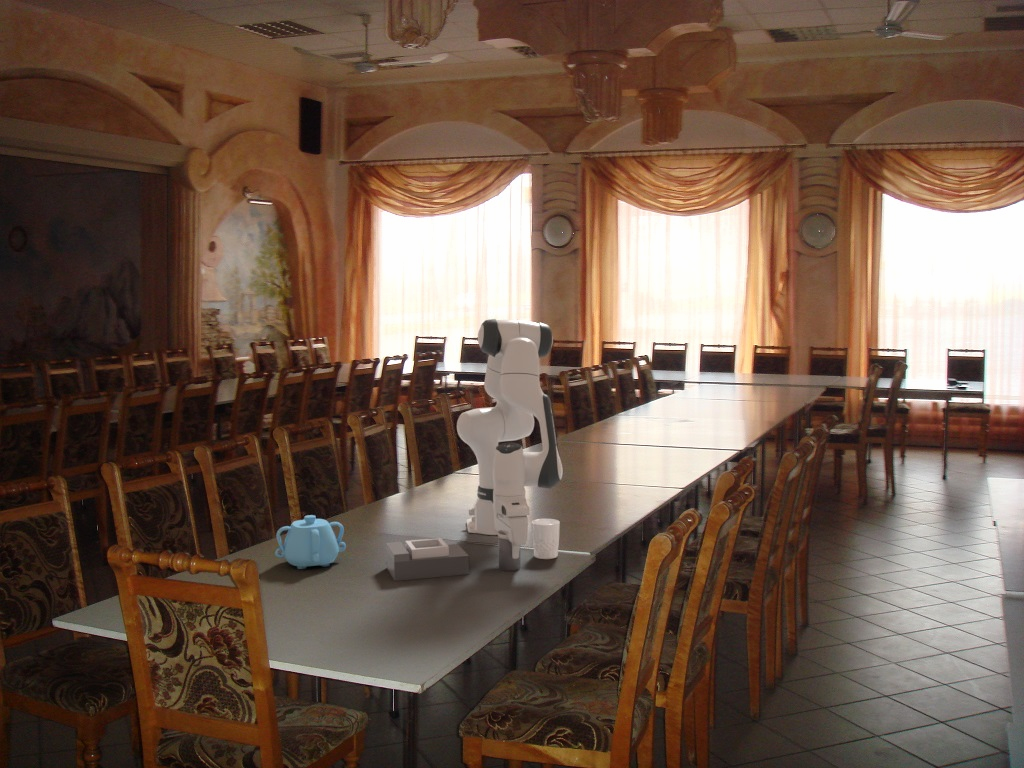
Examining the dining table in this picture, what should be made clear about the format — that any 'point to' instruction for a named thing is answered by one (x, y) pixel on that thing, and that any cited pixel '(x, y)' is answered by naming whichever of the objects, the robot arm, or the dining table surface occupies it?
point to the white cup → (545, 538)
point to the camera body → (425, 559)
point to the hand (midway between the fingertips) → (510, 553)
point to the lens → (507, 554)
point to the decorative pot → (310, 542)
